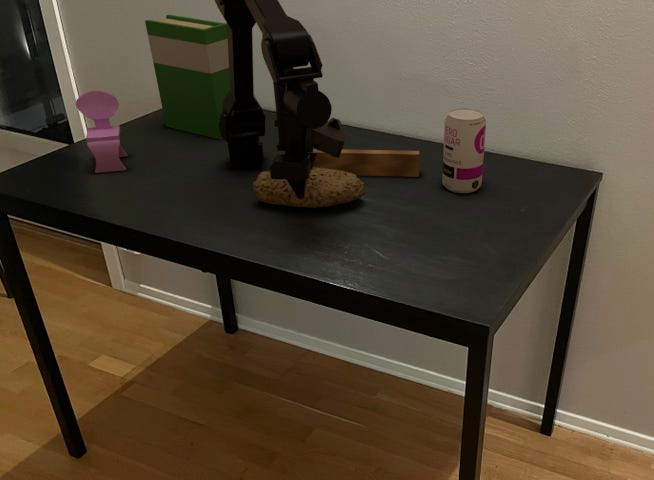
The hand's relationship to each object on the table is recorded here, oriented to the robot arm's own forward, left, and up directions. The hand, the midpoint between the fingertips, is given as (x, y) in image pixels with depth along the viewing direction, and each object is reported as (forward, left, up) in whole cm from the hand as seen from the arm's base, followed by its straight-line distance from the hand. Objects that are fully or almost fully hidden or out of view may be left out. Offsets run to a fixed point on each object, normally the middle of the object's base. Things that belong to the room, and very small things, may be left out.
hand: (301, 197), depth 127 cm
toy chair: (-46, +29, -6) cm, 55 cm away
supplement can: (+30, +21, -6) cm, 37 cm away
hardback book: (-32, +53, -6) cm, 62 cm away
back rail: (+8, +26, -6) cm, 28 cm away
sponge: (0, +11, -6) cm, 13 cm away
